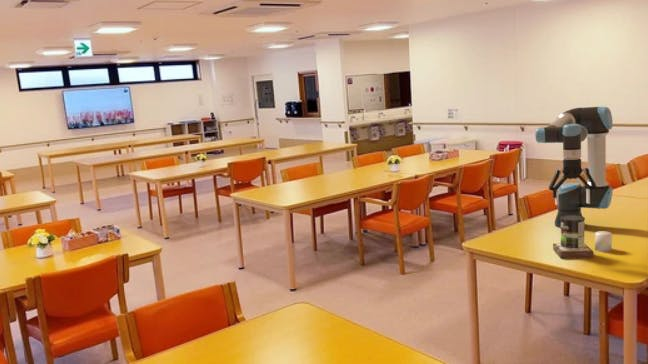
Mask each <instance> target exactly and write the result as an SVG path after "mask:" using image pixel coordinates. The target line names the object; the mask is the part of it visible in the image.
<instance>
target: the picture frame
mask: <svg viewBox="0 0 648 364" xmlns="http://www.w3.org/2000/svg"><path fill="white" fill-rule="evenodd" d="M552 250H553V251H554V252H555V254H556V255H557V256H558V257H559V258H560V260H561V259H594V250H593V249H591V247H590V246H588V245H587V244H586V243H585V242H584V248H583V249H580V250H569V249H564V248H562V247H561V242H559V243H552Z"/></svg>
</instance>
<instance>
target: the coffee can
mask: <svg viewBox="0 0 648 364" xmlns="http://www.w3.org/2000/svg"><path fill="white" fill-rule="evenodd" d="M560 219H561V227H560V243H561V247H562V248H564V249H569V250H580V249H583V248H584V243H585V226H584V222H585V219H586V217H584V216H583V215H582V216H578V215H565V216H561V217H560Z"/></svg>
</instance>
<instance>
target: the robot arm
mask: <svg viewBox="0 0 648 364" xmlns="http://www.w3.org/2000/svg"><path fill="white" fill-rule="evenodd" d="M613 126H614V125H613V115H612V112H611V109H610V108H609V107H607V106H589V107H588V106H587V107H576V108H571V109H569V110H566V111H564V112H562V113H560V114H559V115H558V116H557V117H556V119H555V120H553V122H551V123H550V124H549V125H547V126H545V127H544V126H541V127H538V128H536V129H535V141H536V143H538V144H539V143H540V144H555V143H556V144H558V143H559V144H560V143H561V144H562V157H563V160H562V169H556V170H555V173H554V176H553V178H552V180H551V182H550V184H549V186H548V190H550V191H552V197H553V199H554V202H555V203H554V205H556V206H557V214H556V216H555V219H554V226H555V227H557V228H561V219H560V217H561V216H565V215H578V216H583V214H582V209H598V210H601V209H603V210H605V209H609V207H610V206H611V203H612V198H613V187H611V186H610V183H609V182H608V181H607V180H606V179H607V174H606V167H607V163H606V162H607V161H606V160H607V158H606V155H607V153H606V152H607V150H606V148H607V147H606V138H607V137H606V136H607V135H608V134H609V133H610V130H612V128H613ZM585 140H587V145H586V148H587V149H586V151H587V167H585V168H582V159H581V158H582V142H584V141H585ZM582 173H584V174H585V176H586V178H587V180H586V179H585V178H584V177H583V176H582V175H581V174H582ZM561 174H562V176H561V178H560V179H559V177H560V175H561ZM572 179H573V180H574V179H575V180H576V179H579V180H580V181H581V183H583V184H584V186H583V185H582V184H581V183H580V182H570V183H565V182H566V181H567V180H572ZM558 180H559V181H558ZM585 224H586V223H585V221H584V227H585Z"/></svg>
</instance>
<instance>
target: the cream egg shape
mask: <svg viewBox="0 0 648 364" xmlns="http://www.w3.org/2000/svg"><path fill="white" fill-rule="evenodd" d="M612 237H613V234H612V231H611V232H610V231H605V230H604V231H603V230H600V231H595V232H594V250H595V251H597V252H604V253H609V252H611V251H612V250H613V248H612V247H613V239H612Z"/></svg>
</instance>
